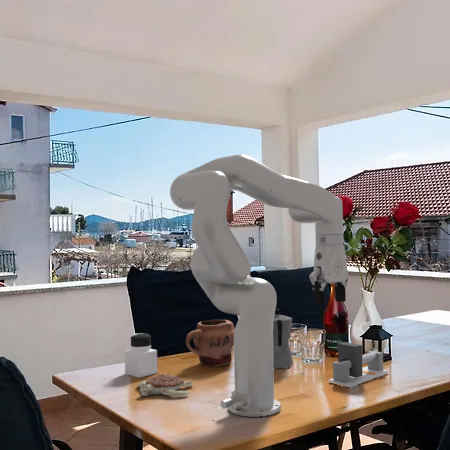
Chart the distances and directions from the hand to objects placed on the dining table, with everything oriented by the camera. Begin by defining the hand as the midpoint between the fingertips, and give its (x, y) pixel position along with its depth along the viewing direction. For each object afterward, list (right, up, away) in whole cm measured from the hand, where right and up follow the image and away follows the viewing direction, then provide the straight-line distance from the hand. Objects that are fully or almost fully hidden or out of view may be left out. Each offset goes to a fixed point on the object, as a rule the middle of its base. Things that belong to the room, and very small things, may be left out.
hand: (330, 303), depth 149 cm
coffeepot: (-12, -23, +22) cm, 34 cm away
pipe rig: (+10, -23, +6) cm, 25 cm away
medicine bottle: (-55, -24, +15) cm, 62 cm away
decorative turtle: (-46, -24, -3) cm, 52 cm away
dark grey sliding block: (+6, -21, +3) cm, 22 cm away
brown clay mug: (-33, -24, +25) cm, 48 cm away
